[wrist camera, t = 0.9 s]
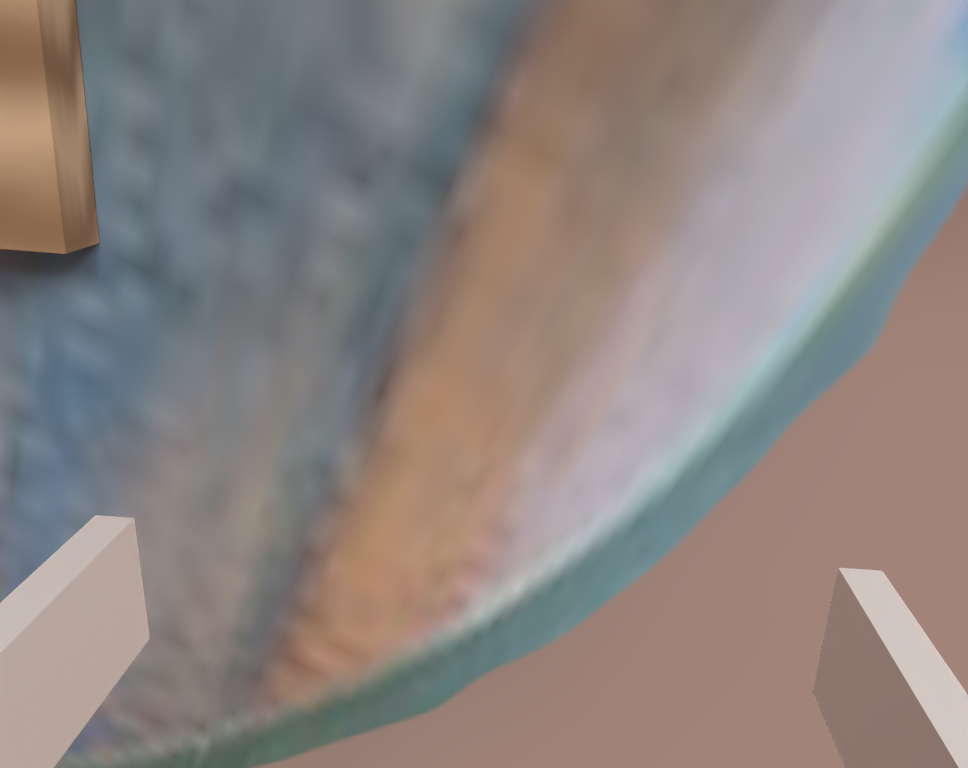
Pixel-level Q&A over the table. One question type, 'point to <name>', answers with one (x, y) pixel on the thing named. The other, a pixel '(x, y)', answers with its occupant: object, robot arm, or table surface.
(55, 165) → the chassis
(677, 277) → the table surface
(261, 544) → the table surface
